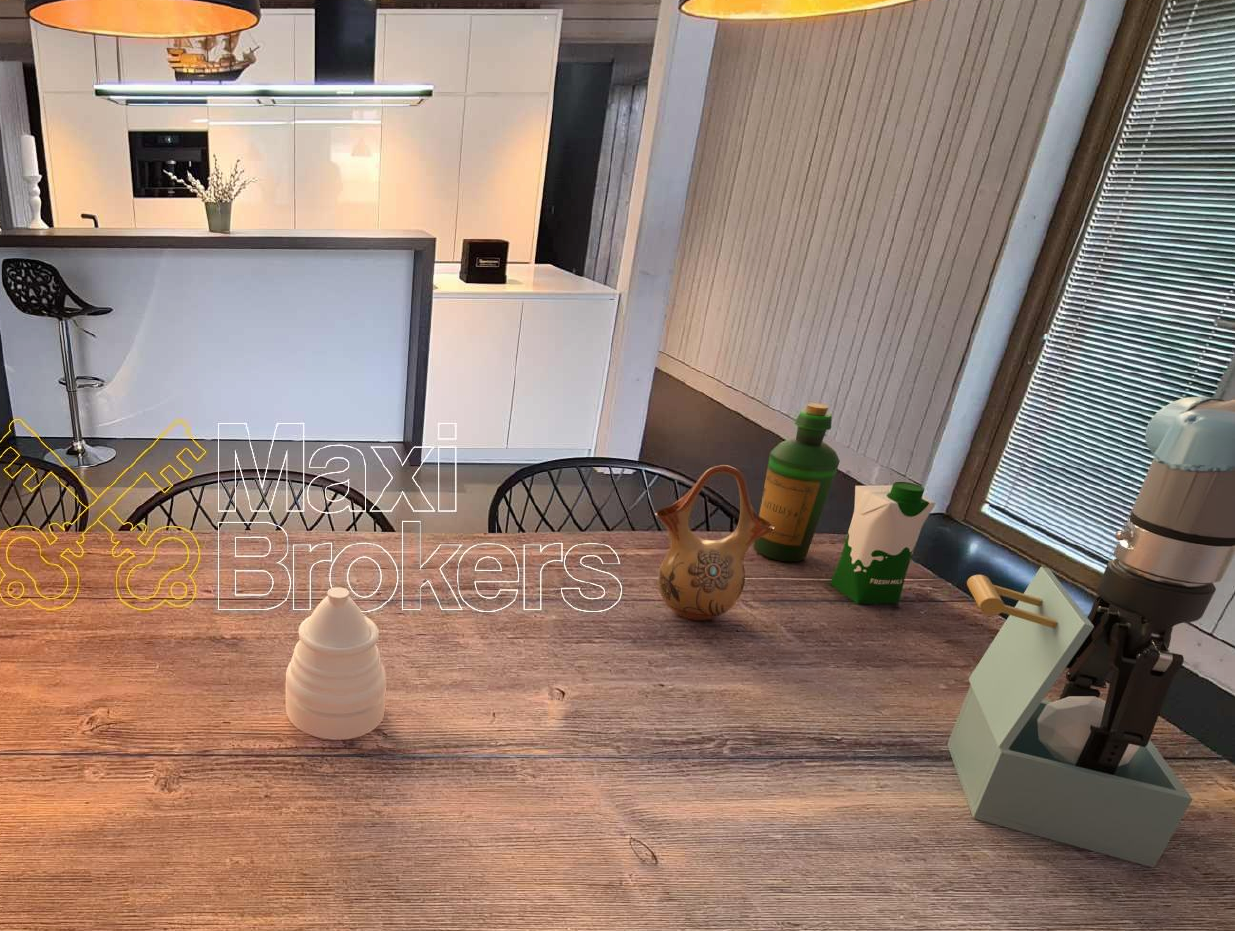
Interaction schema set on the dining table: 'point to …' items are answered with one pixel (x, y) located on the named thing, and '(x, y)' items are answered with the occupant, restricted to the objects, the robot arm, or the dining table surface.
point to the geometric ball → (1073, 727)
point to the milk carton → (881, 542)
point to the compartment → (1066, 791)
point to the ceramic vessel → (706, 555)
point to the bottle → (797, 487)
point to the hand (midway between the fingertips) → (1073, 758)
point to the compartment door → (1024, 649)
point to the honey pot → (336, 672)
